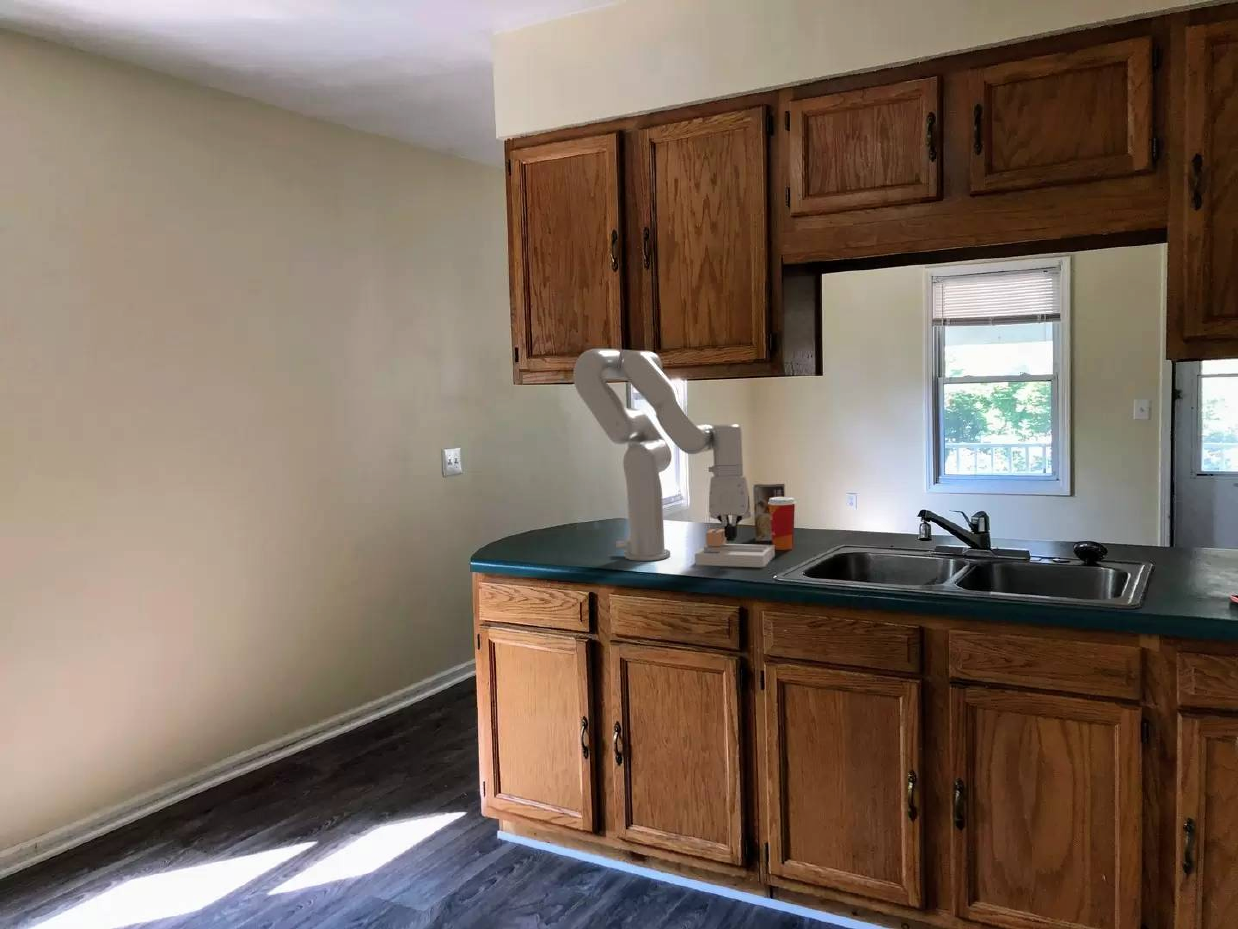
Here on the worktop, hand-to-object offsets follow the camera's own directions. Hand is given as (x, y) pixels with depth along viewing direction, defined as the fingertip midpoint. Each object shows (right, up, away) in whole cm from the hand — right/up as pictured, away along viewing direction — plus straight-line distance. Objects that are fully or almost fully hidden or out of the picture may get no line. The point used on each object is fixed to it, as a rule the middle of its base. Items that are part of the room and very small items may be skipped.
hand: (731, 540), depth 245 cm
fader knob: (-4, -2, +2) cm, 5 cm away
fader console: (+1, -5, 0) cm, 5 cm away
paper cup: (+16, -4, +14) cm, 21 cm away
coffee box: (+15, -2, +28) cm, 32 cm away
